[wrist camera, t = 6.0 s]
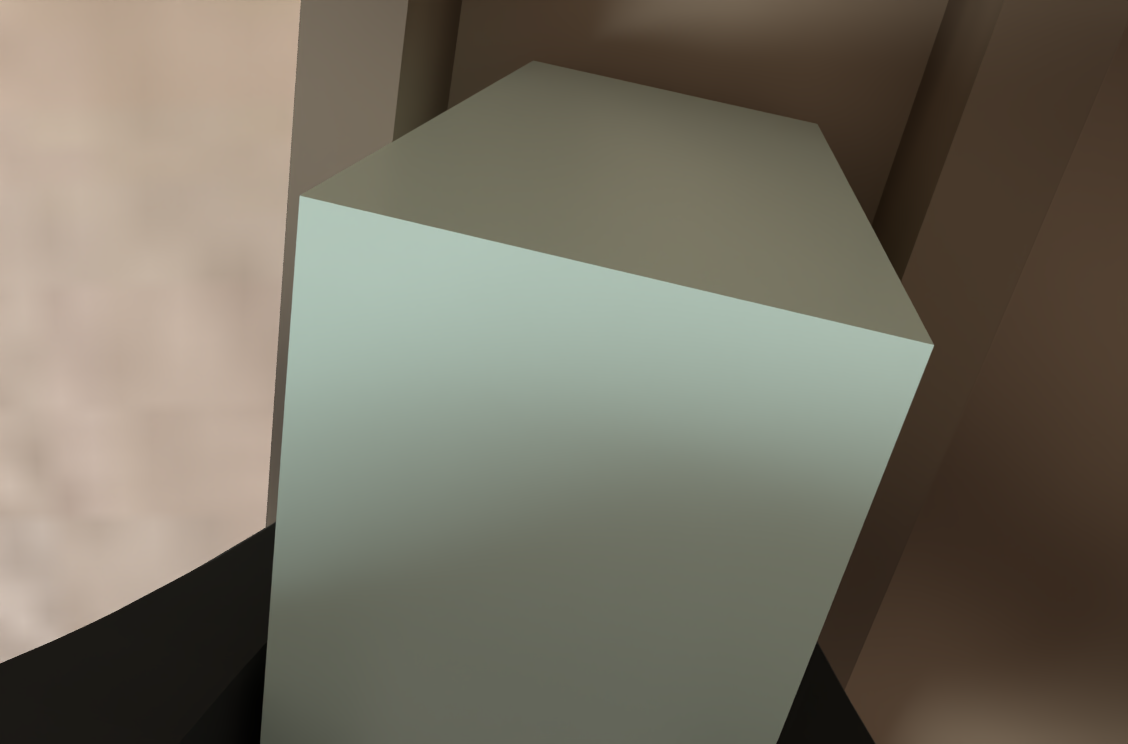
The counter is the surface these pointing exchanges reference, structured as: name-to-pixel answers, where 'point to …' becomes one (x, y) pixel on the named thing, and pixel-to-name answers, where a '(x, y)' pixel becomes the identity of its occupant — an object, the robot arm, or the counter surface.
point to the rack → (929, 276)
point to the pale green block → (577, 423)
